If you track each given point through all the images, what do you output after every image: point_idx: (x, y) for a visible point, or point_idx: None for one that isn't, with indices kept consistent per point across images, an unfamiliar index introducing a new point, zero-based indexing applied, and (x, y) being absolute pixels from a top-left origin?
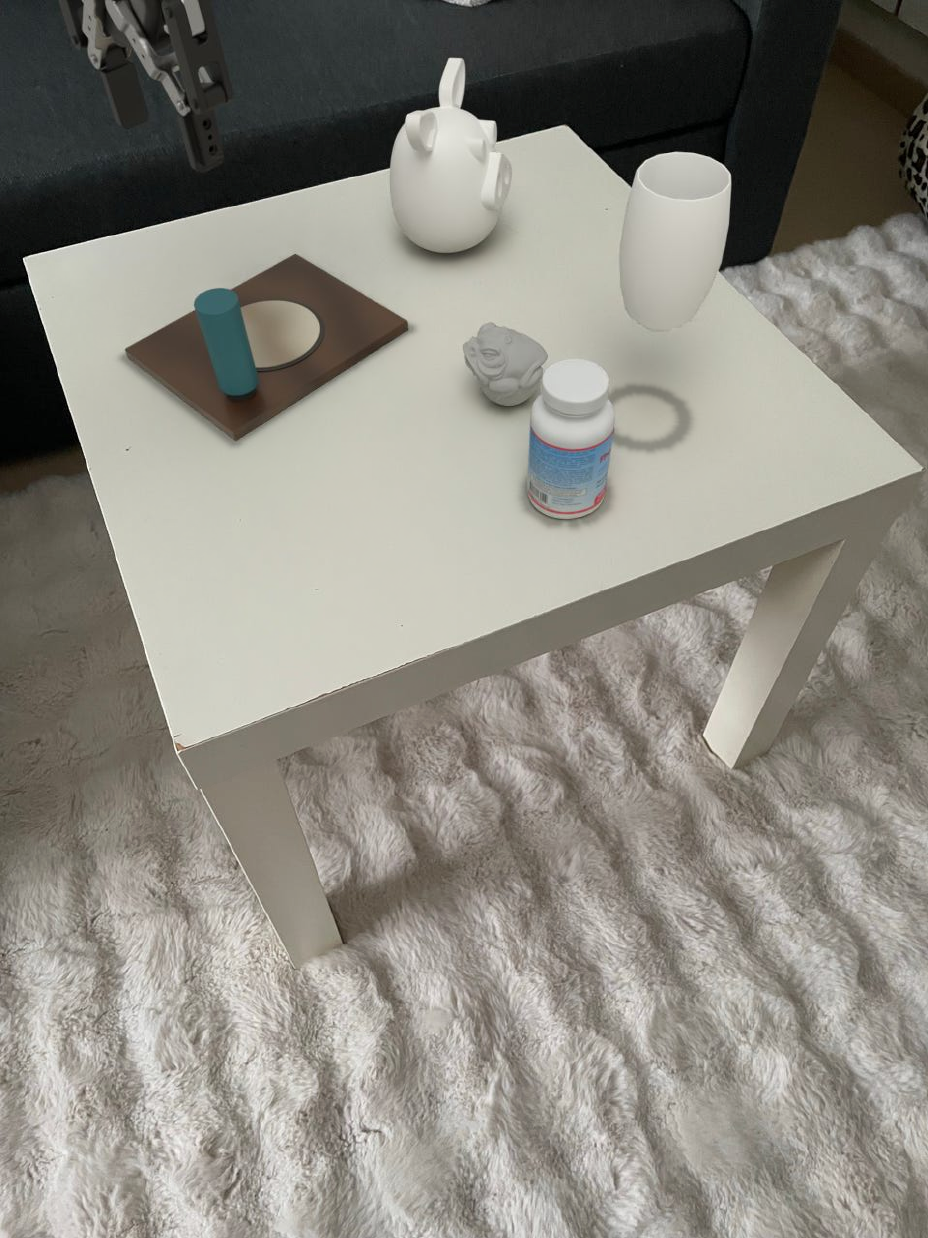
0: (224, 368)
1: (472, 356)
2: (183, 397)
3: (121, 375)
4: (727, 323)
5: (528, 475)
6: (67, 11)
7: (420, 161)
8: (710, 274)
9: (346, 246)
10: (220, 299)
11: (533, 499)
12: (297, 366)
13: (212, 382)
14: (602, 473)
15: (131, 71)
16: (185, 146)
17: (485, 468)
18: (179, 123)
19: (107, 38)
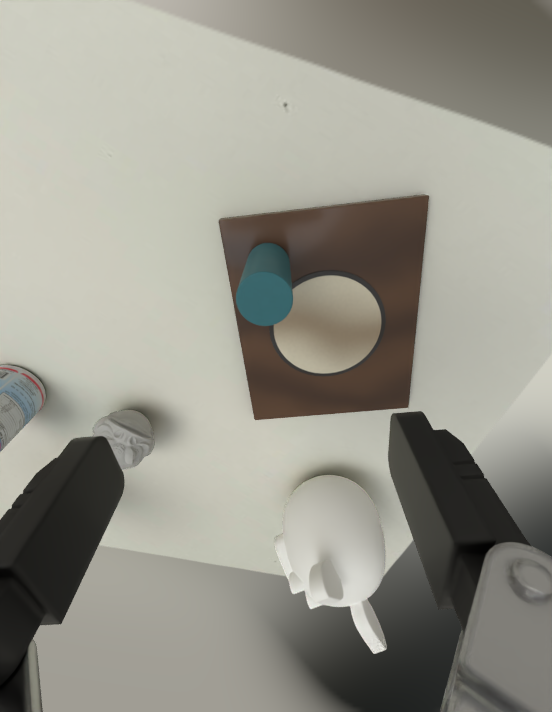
0: (251, 256)
1: (116, 430)
2: (310, 208)
3: (404, 171)
4: (127, 538)
5: (7, 380)
6: None
7: (324, 549)
8: None
9: (387, 439)
10: (263, 305)
11: (4, 368)
12: None
13: (302, 245)
14: None
15: (430, 573)
16: (67, 475)
17: (70, 363)
18: (31, 532)
19: None
